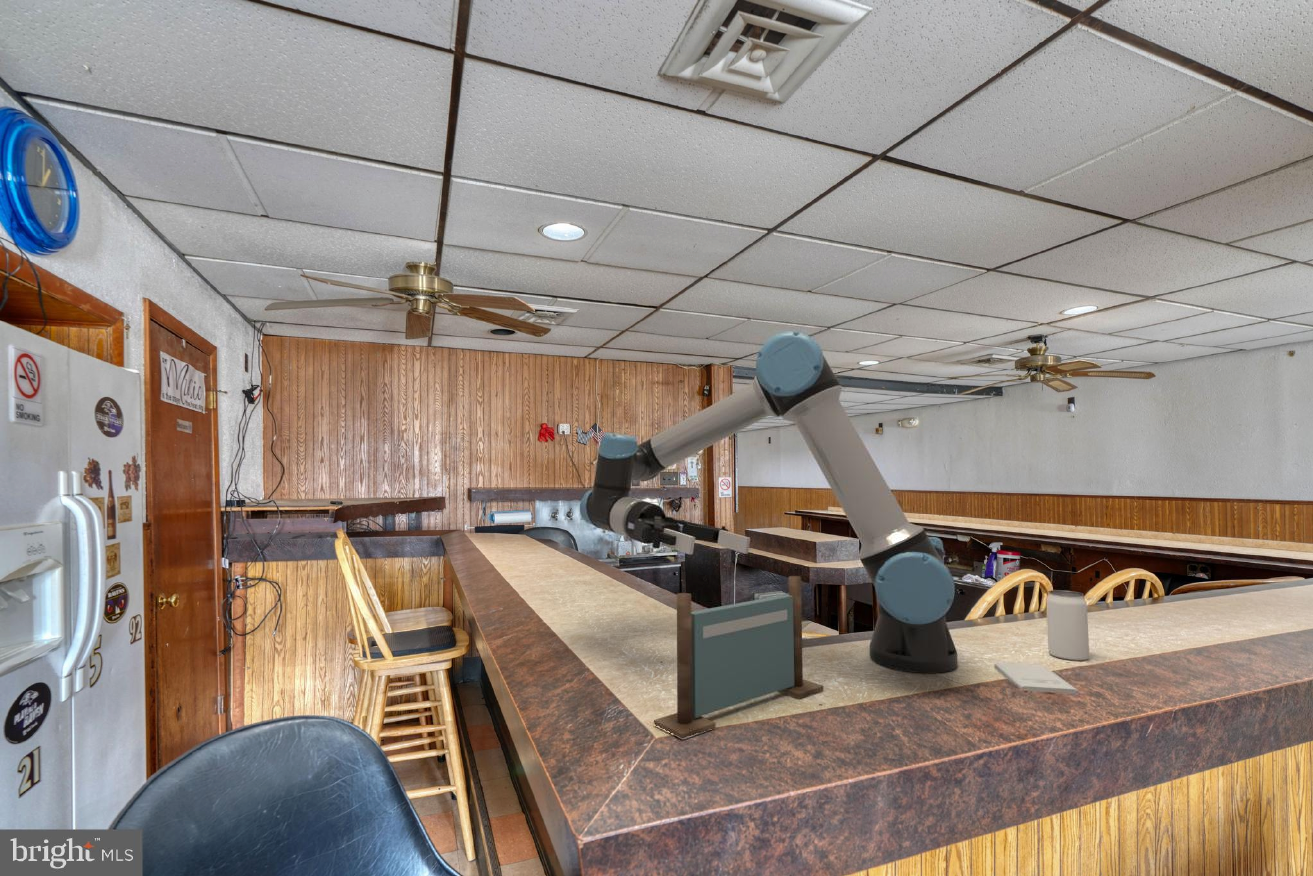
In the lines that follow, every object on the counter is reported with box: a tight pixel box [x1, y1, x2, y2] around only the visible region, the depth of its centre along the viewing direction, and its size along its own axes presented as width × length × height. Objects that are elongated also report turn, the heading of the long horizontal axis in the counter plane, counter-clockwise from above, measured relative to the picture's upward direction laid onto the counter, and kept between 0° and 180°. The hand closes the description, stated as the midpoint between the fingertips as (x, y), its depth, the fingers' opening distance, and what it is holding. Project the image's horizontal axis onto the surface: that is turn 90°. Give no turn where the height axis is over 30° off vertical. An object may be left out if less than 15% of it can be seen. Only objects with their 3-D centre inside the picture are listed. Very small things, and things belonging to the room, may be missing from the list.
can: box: [1045, 589, 1090, 662], centre depth 116 cm, size 6×6×12 cm
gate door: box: [691, 594, 794, 718], centre depth 91 cm, size 21×2×14 cm, turn 128°
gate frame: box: [653, 575, 825, 738], centre depth 91 cm, size 30×6×18 cm, turn 128°
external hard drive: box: [994, 662, 1079, 696], centre depth 102 cm, size 2×8×12 cm
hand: (721, 545), depth 99 cm, fingers open, 13 cm apart
